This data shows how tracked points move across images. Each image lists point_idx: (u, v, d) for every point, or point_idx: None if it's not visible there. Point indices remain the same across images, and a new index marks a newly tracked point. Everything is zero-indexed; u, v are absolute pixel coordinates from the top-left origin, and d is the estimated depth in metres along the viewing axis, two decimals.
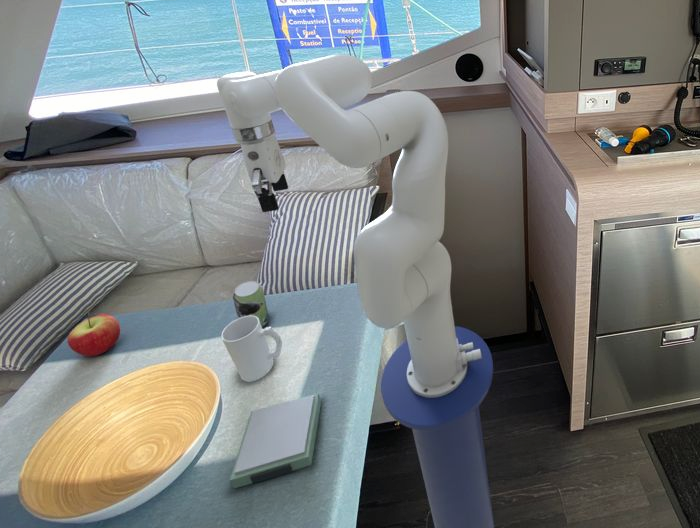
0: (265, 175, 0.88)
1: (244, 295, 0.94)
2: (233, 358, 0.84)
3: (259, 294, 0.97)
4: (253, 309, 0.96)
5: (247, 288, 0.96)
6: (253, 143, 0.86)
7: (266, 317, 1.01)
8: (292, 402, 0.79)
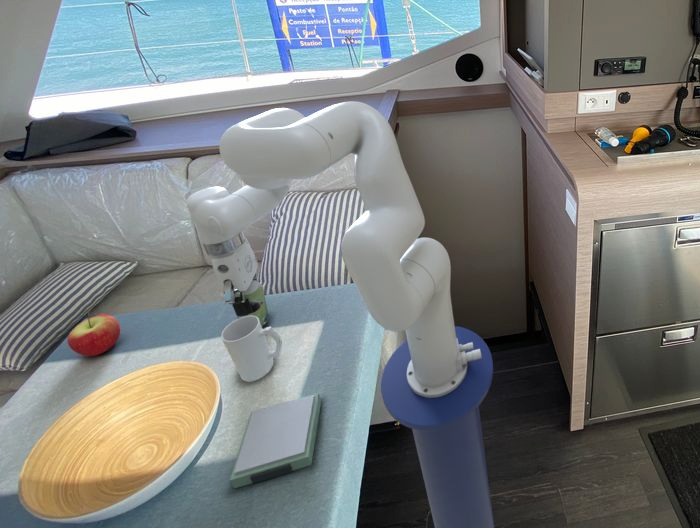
0: (235, 285, 0.90)
1: None
2: (233, 358, 0.84)
3: (259, 293, 0.97)
4: (253, 308, 0.96)
5: None
6: (223, 257, 0.88)
7: (266, 317, 1.01)
8: (292, 402, 0.79)
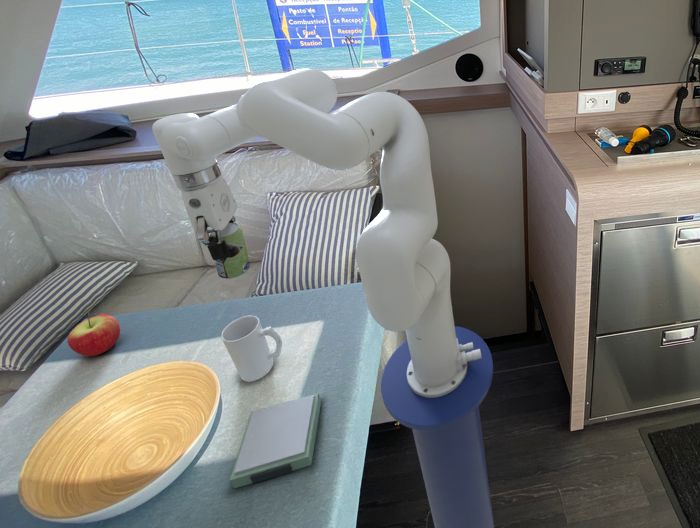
0: (209, 223, 0.82)
1: (221, 235, 0.86)
2: (233, 358, 0.84)
3: (238, 236, 0.88)
4: (231, 252, 0.88)
5: (224, 229, 0.88)
6: (194, 190, 0.80)
7: (247, 264, 0.92)
8: (292, 402, 0.79)
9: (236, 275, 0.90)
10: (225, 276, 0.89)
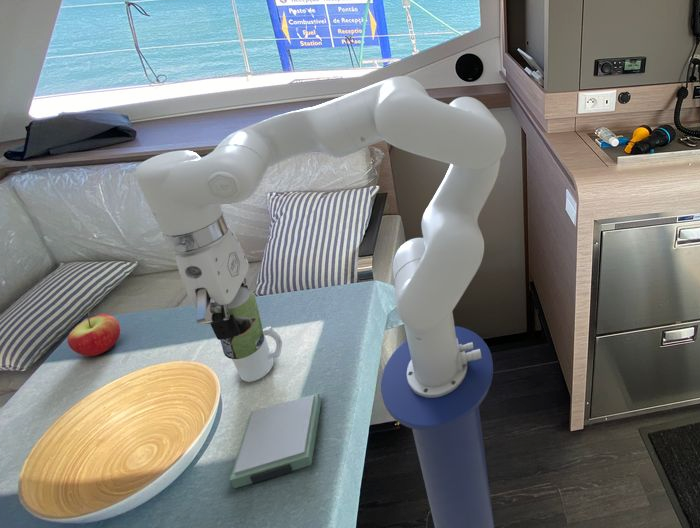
0: (213, 296, 0.61)
1: None
2: None
3: (250, 306, 0.68)
4: (241, 327, 0.67)
5: None
6: (193, 254, 0.59)
7: (260, 338, 0.72)
8: (292, 402, 0.79)
9: (247, 354, 0.70)
10: (233, 356, 0.69)
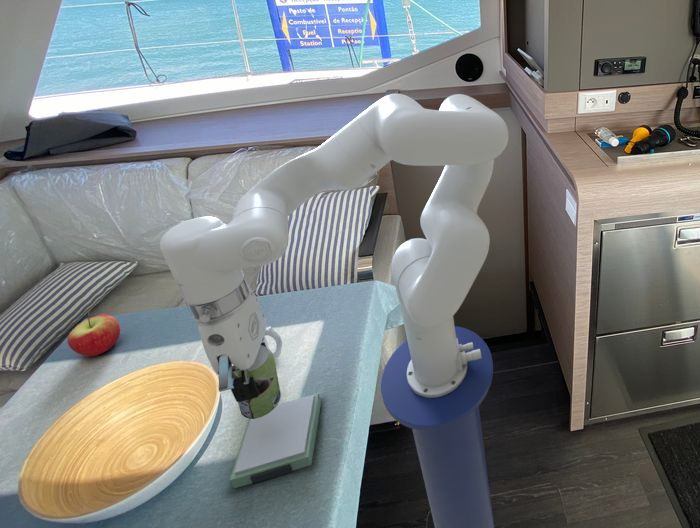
0: (234, 362, 0.61)
1: None
2: None
3: (269, 366, 0.67)
4: (260, 388, 0.67)
5: None
6: (216, 322, 0.59)
7: (277, 396, 0.71)
8: (292, 402, 0.79)
9: (264, 413, 0.69)
10: (250, 416, 0.68)
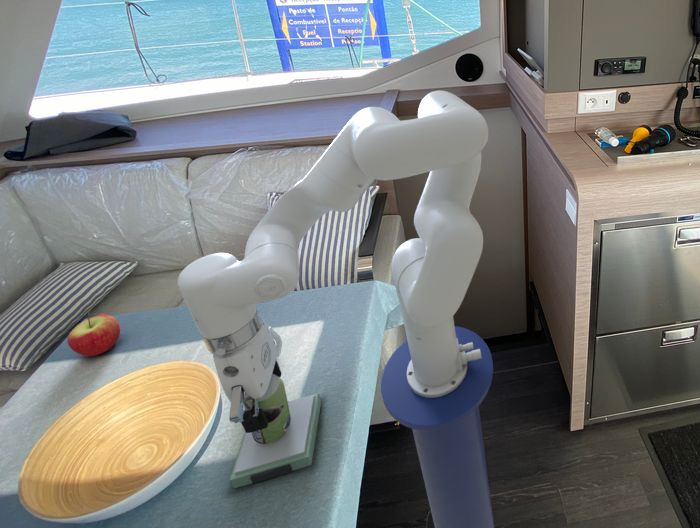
0: (248, 392, 0.63)
1: (259, 400, 0.67)
2: None
3: (279, 395, 0.70)
4: (271, 416, 0.69)
5: None
6: (231, 355, 0.61)
7: (288, 421, 0.74)
8: (292, 402, 0.79)
9: (276, 438, 0.72)
10: (262, 442, 0.71)
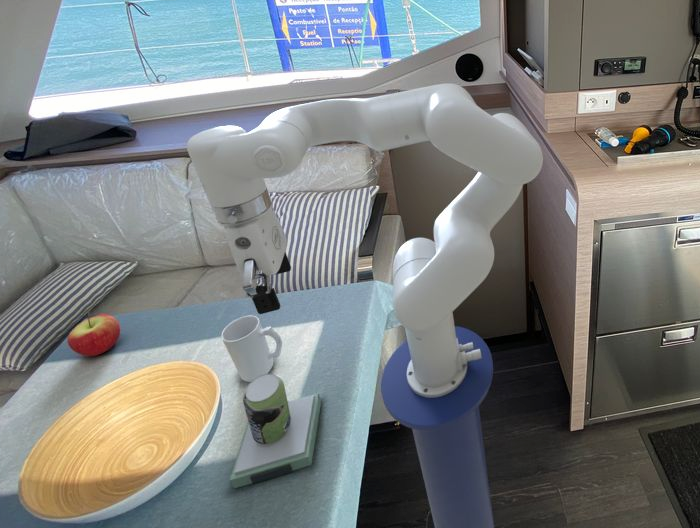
0: (261, 267, 0.63)
1: (259, 400, 0.67)
2: (233, 358, 0.84)
3: (279, 395, 0.70)
4: (271, 416, 0.69)
5: (262, 386, 0.70)
6: (242, 226, 0.61)
7: (288, 421, 0.74)
8: (292, 402, 0.79)
9: (276, 439, 0.72)
10: (262, 442, 0.71)
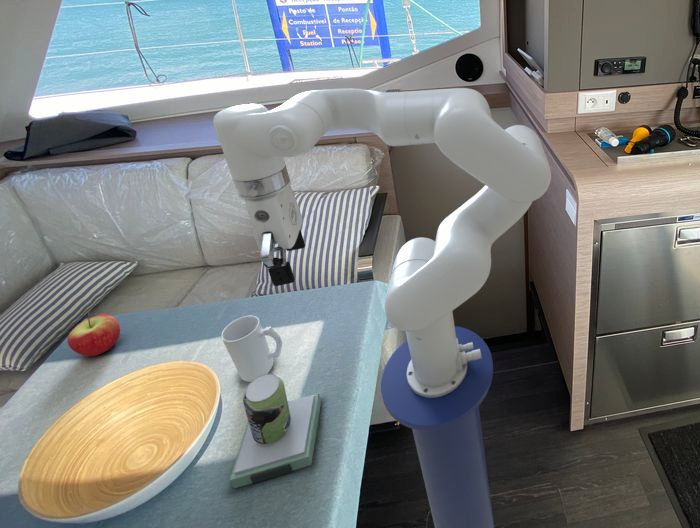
0: (278, 240, 0.66)
1: (259, 400, 0.67)
2: (233, 358, 0.84)
3: (279, 395, 0.70)
4: (271, 416, 0.69)
5: (262, 386, 0.70)
6: (262, 199, 0.64)
7: (288, 421, 0.74)
8: (292, 402, 0.79)
9: (276, 439, 0.72)
10: (262, 442, 0.71)
